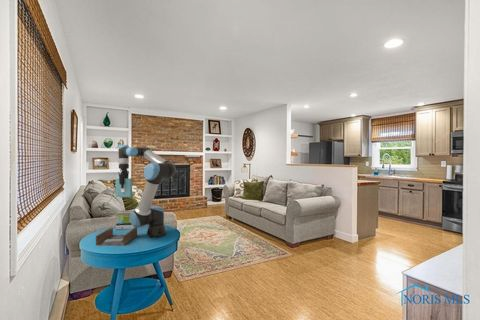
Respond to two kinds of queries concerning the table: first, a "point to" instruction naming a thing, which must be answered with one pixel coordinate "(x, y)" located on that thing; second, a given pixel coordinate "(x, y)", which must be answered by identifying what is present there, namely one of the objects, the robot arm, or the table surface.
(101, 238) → the rack
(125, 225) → the tea box
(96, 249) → the table surface
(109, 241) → the offcut upper
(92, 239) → the table surface
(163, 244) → the table surface
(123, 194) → the teal rectangular slab
